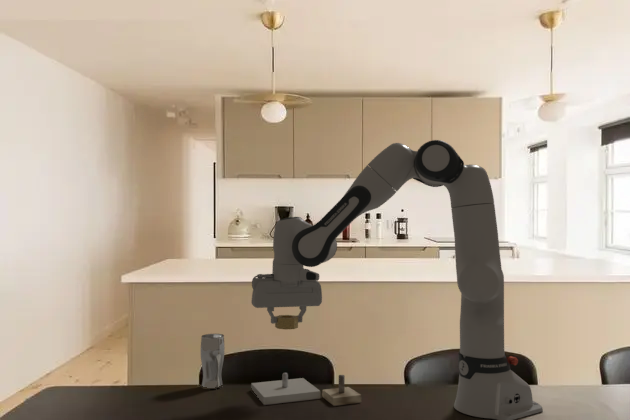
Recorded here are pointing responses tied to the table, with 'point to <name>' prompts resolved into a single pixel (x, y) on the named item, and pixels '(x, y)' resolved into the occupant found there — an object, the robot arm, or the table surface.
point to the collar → (287, 322)
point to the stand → (341, 394)
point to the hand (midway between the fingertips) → (286, 322)
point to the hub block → (285, 390)
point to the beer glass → (212, 359)
